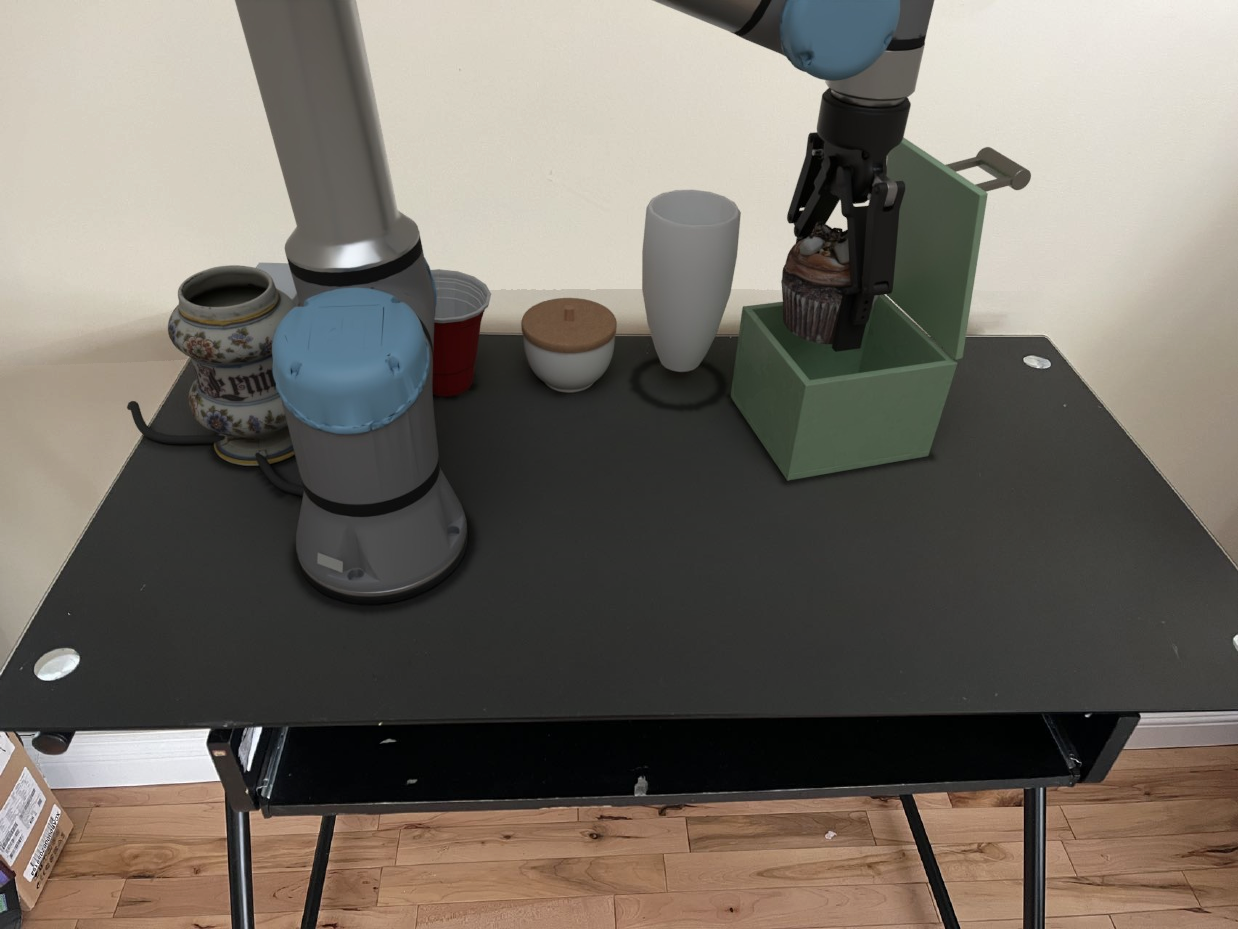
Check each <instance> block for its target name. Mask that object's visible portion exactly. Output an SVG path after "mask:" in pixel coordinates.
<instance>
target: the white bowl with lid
mask: <svg viewBox="0 0 1238 929" xmlns="http://www.w3.org/2000/svg"><path fill="white" fill-rule="evenodd" d="M520 322H521V325H520V326H521V332H522V342H523V350H524V354H525V357H526V361H527V364H528V365H529V368H530V369H531V371H532V372H533V373H534V375H535V376H536V377H537V378H538V379H539V380H541V381H542V382H543V383H544V384H545V385H546V386H547V387H548V388H549V389H551V390H553V391H556V392H561V393H579V392H583V391H585V390H587V389H589V388H591V387H592V386H593V385H594V383H595V382H596V381H598V380H599V379H600V378H602V377H603V375H604V374H605V373H606V371H607V370H608V368H609V366H610V365H611V362H612V359H613V355H614V350H615V344H616V333H617V327H618V321H617V317H616V315H615V314H614V313H613V312H612V311H611V309H609V308H608V307H606V306H604V305H603V304H601V303H599V302H597V301H593V300H590V299H586V298H578V297H558V298H552V299H547V300H543V301H541V302H538V303H536V304H534V305H532V306H530V308H528V309H527V310H526V311H525V312H524V313H523V315H522V317H521V321H520Z"/></svg>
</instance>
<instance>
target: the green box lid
mask: <svg viewBox="0 0 1238 929" xmlns="http://www.w3.org/2000/svg"><path fill="white" fill-rule="evenodd" d="M976 167H978V168H980V169H981V170H982V171H984V172H986V173H987V174H989V175H991V177H994V179H990V180H987V181H982V182H979V183H975V184H974V183H973V182H972V181H971V180H969V179H967V178H966V177H964V176H962V175H961V174H959V173H958V172H960V171H965V170H968V169H973V168H976ZM886 176H887V177H889V178H890V179H891V180H892V181H904V183H905V193H904V196H903V200H902V203H901V207H900V211H899V223H898V235H897V247H896V259H895V271H894V282H893V291H892V293H891V294H885V295H886V296H887V297H888V298H889V299H890V300H891V301H892V302H893V303H894V304H895V305H896V306H897V307H898V308H899V309H900V310H901V311H903V312H904V313H905V314H906V315H907V316H908V317H909V318H910V319H911V320H912V321H913V322H914V323H915V324H916V325H917V326H919V327H920V328H921V329H922V330H923V331H924V332H925V333H926V334H927V335H928V336H929V337H930V338H931V339H932V340H933V341H934V342H936V343H937V344H938V345H939V346H940V347H941V348H942V349H943V350H944V351H945V352H946V353H947V354H948V355H949V356H950V357H951V358H953V360H955V361H956V360H960V359H963V357H964V351H965V345H966V338H967V331H968V325H969V319H970V318H969V317H970V313H971V312H970V311H971V305H972V299H973V294H974V293H973V292H974V286H975V280H976V279H975V278H976V273H977V266H978V261H979V260H978V259H979V252H980V248H981V242H982V240H981V239H982V233H983V228H984V220H985V214H986V208H987V201H988V195H989V193H988V192H990V191H995V190H998V189H1003V188H1005V187H1009V188H1011V189H1013V190H1014V191H1021V190H1023V189H1024V188H1026V187H1027V186H1028V185H1029V183H1030V181H1031V178H1032V172H1031V171H1030V170H1029V169H1028V168H1026V167H1024V166H1022V165H1021V164H1019V163H1017V162H1016V161H1014V160H1012V159H1011V158H1009V157H1007V156H1006V155H1004V154H1002V153H1001V152H999V151H997V150H995V149H994V148H992V147H990V146H985V147H983V148H981V149H980V150H979V151H978V152H977V153H976V155H975V156H974V157H970V158H966V159H961V160H959V161H954V162H951V163H946V164H944V163H943V162H942V161H940V160H938V159H937V158H936V157H934V156H932V155H931V154H929V153H928V152H926V151H925V150H924V149H922V148H921V147H919V146H917V145H916V144H914V143H913V142H911V141H910V140H908V138H905V136H904V137H903V140H902V142H901V143H900V144H899V145H898V146H896V147H894V148H893V149H892V150H891V151H890V152H889V153H888V155H887V175H886Z"/></svg>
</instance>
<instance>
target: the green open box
mask: <svg viewBox="0 0 1238 929" xmlns="http://www.w3.org/2000/svg"><path fill="white" fill-rule="evenodd" d="M957 366H958V362H957V361H956V360H955V359H954V358H953V357H952V356H951V355H950V354H949V353H948V352H947V351H946V350H945V349H944V348H943V347H941V346H940V345H939V344H938V343H937V342H936V341H935V340H934V339H933V338H932V337H931V336H930V335H929V334H928V333H927V332H925V331H924V330H923V329H922V328H921V327H920V326H919V325H918V324H917V323H916V322H915V321H914V320H913V319H912V318H911V317H909V316H908V315H907V314H906V313H905V312H904V311H903V310H902V309H901V308H900V307H899V306H898V305H897V304H896V303H895V302H894V301H892V300H891V299H890V298H889V297H888V296H887V295H886V294H884V295H878V297H877V299H876V301H875V303H874V305H873V307H872V310H871V312H870V317H869V320H868V322H867V324H866V327H865V331H864V335H863V340H862V344H861V348H860V349H853V350H846V351H838V352H835V351H834V350H833V349H832V344H820V343H816V342H811V341H807V340H805V339H802V338H800V337H798V336H796V335H794V334H793V333H792V332H790V331H789V330H788V329H787V327H786V326H785V324H784V322H783V301H777V302H775V301H774V302H767V303H759V304H752V305H750V304H749V305H744V306H742V309H741V315H740V322H739V329H738V338H737V345H736V351H735V359H734V367H733V374H732V376H733V377H732V384H731V391H730V398H731V400H732V401H733V402H734V404H735V406H736V407H737V409H738V410H739V412H740V414H742V416H743V418H744V419H745V420H746V423H748V425H749V427H750V428H751V430H752V431H753V432H754V433H755V436H757V438H758V440H759V441H760V443H761V444H762V446H763V447H764V449H765V450H766V451H767V453H768V454H769V456H770V457H771V460H773V463H775V465H776V466H777V467H778V469H779V471H780V472H781V474H782V475H783V477H784V478H785V479H786V481H793V480H800V479H805V478H811V477H817V476H822V475H823V476H824V475H829V474H833V473H839V472H840V473H841V472H846V471H850V470H857V469H863V468H869V467H874V466H880V465H885V464H890V463H897V462H903V461H909V460H914V459H921V458H926V457H929V456H930V452H931V448H932V446H933V442H934V439H935V436H936V433H937V430H938V427H939V423H940V420H941V417H942V414H943V411H944V408H945V405H946V401H947V399H948V396H949V393H950V390H951V389H950V388H951V386H952V384H953V379H954V376H955V373H956V370H957Z"/></svg>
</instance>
